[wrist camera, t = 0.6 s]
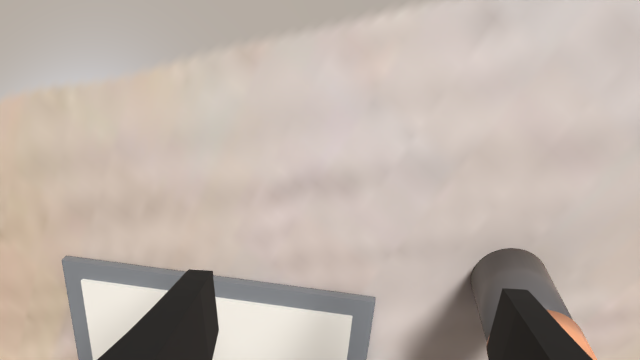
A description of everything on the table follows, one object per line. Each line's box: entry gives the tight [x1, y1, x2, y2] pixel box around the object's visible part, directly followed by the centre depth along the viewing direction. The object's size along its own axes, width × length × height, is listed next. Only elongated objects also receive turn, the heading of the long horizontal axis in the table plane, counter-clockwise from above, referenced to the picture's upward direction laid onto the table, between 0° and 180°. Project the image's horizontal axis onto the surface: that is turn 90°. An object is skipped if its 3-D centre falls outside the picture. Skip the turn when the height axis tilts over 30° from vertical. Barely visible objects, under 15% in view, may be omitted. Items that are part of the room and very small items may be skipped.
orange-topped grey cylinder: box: [471, 248, 597, 360], centre depth 20 cm, size 4×4×6 cm
